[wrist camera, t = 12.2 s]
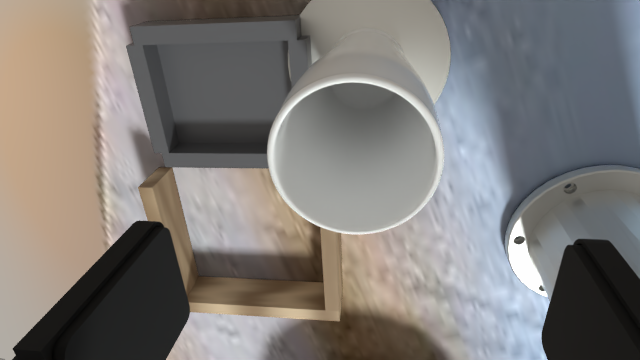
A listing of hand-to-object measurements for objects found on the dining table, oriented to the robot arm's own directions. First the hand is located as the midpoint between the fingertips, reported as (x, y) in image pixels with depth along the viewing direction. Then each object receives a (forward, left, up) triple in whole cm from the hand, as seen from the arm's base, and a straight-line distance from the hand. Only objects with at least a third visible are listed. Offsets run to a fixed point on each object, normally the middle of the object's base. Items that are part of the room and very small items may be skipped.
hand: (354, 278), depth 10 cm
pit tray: (+10, +2, -22) cm, 24 cm away
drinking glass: (0, 0, -21) cm, 21 cm away
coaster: (0, 0, -22) cm, 22 cm away
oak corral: (+10, +14, -22) cm, 28 cm away
